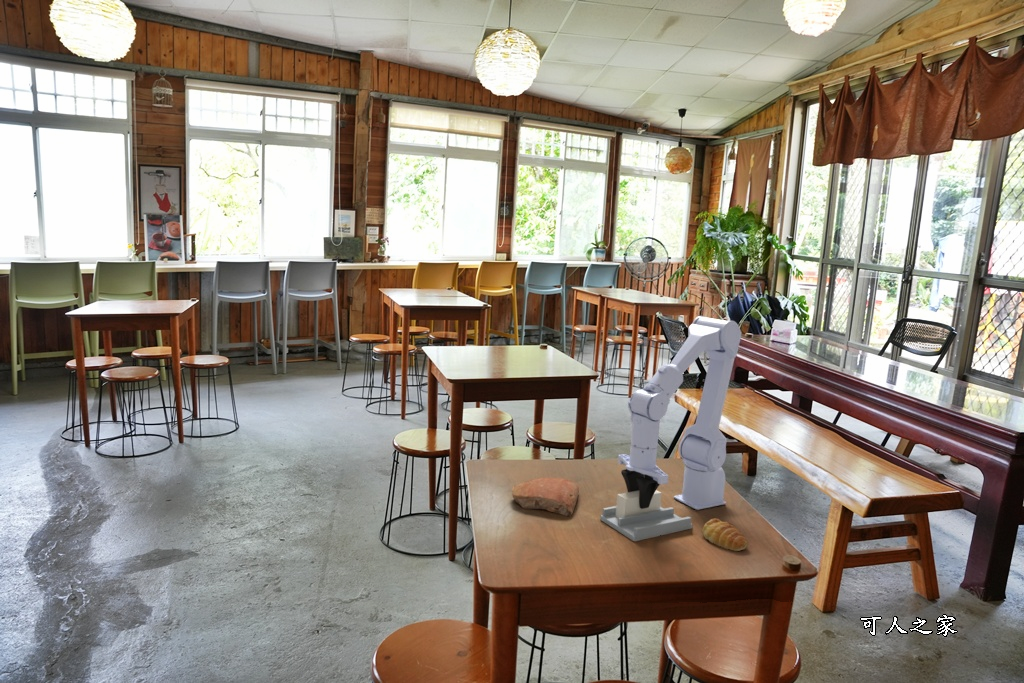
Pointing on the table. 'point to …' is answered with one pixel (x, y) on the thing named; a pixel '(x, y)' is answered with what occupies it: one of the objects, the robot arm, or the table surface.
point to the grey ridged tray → (646, 523)
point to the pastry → (724, 535)
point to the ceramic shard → (547, 495)
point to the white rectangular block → (635, 504)
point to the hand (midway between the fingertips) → (638, 504)
